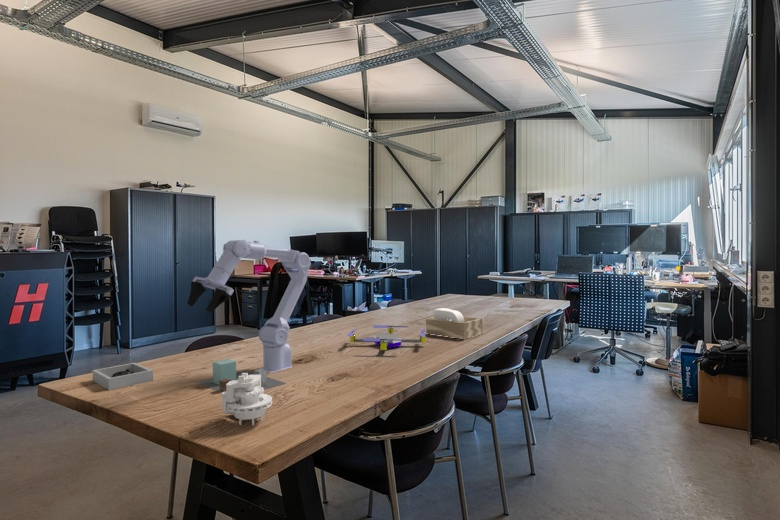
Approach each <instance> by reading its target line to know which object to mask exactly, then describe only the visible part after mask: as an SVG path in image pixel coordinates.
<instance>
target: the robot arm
mask: <svg viewBox="0 0 780 520" xmlns="http://www.w3.org/2000/svg"><path fill="white" fill-rule="evenodd" d="M264 257H268V258H275V259H278V261H279V262H280V263H281V265H282V266H283V268H284V269H285V271H286V273H287V274H288V276H289V277H290V281H289V283H288V286H286V287H287V288H286V289H285V291H284V294H283V296H282V297H281V299H280V302H279V304H278V306H277V308H276V310H275V312H274V314H273V316H272V317H270V318H269V319H268V320H266V322H265V323H264V325H263V326H262V327H261V328H260V329H259V332H258V339H259V340H260V341H261V343H262V350H263V351H262V356H263V357H262V358H263V362H262V363H263V367H260V368H258V369H265V370H267V372H268V373H274V372H278V371H279V372H280V371H282V370H283V371H284V370H286V369H290V368H293V366H292V350H291V346H290V344H289V343H286V342H287V341H288V338H289V331H290V329H291V328H290V325H289V323H288V321H289V320H290V317H291V316H292V313H293V311H294V309H295V306H296V304H298V303H297V302H298V300H299V298H300V296H301V294H302V291H303V290H304V288H305V285H306V283H307V281H308V275H309V270H310V267H311V265H312V262H311V259H310V256H309V254H307V253H306V252H304V251H303V252H301V251H299V250H294V249H289V248H278V247H265V245H264V244H263V243H262V242H260V241H259V240H253V241H247V240H246V239H237V240H236V239H235V240H233V239H231V240H229V241H227V242H226V243H224V244H223V248H222V253H221V255H220V257H219V258H218V260H217V261H216V263H215V264H214V266H213V268H212V269H211V271H210V273H209V274H208V276H206V277H199V276H195V277H194V278H193V279H192V281H191V283H190V294H189V297H188V300H187V305H188V306H190V307H194V306H195V304H196V302H197V301H198V300H199V298H200V297H201V296H202V295H203V294H204V293H205V292H206V291H207V289H206V288H209V289H212V290H214V293H213V296H212V298H211V300H210V302H209V303H208V306H207V307H206V309H205V310H206V311H207V313H209V314H212V313H214V311H215V310H216V309H217V308H218V307H219V306H220V305H222V304H223V303H225V302H226V301H229V300H230V297H229V296H232V295H233V293H234V291H235V289H233V287H230V286H228V285H226V283H227V281H228V280H229V278H230V277H231V275H232V273H233V272H234V270H235V269H236V267H237V265H238V263H239V262H240V260H241V259H248V260H249V259H250V260H251V259H252V260H262V259H263V258H264Z"/></svg>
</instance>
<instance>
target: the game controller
mask: <svg viewBox="0 0 780 520" xmlns="http://www.w3.org/2000/svg"><path fill="white" fill-rule="evenodd" d="M128 370H129V369H126V371H120V372H116V373H114V374H113V375H112V378H113V377H118V376H123V375H128V374H133V372H132V371H128Z"/></svg>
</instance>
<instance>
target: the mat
mask: <svg viewBox="0 0 780 520" xmlns="http://www.w3.org/2000/svg"><path fill="white" fill-rule="evenodd" d="M242 373H248V375H255V372H253V371H249V370H242V371H239V372H238V371H237V372H236V380H238V377H239V376H242ZM196 383H197V384H199V385H202V386H205V387H206V388H209V389H211V390H214V391H217V392H219V393H221V394H222V393H223V391H220V385H219V384H216V383H213V377H212V378H208V379H204V380H200V381H199V380H198V381H196ZM287 384H288V383H287V382H284V381H281V380H277V379H275V378H272V377H268V376H267V386H265V387H263V388H264V391H265V390H269V389H272V388H276V387H278V386H279V387H280V386H282V385H287Z"/></svg>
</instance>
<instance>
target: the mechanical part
mask: <svg viewBox="0 0 780 520" xmlns="http://www.w3.org/2000/svg"><path fill="white" fill-rule="evenodd" d="M272 405H273V397H272V396H271V395H269V394H266V393H265V390H264V388H263V387H261V375H248V373H242V376H239V377H238V380H234V381H230V382H228V383H227V384H226V391H225V392H223V393H221V408H222V409H221V410H222V412H223V413H224V414H225V415H232V416H234V418H235V419H238V424H239V426H241V425H242V422H243V420H251V426H255V419H256V418H257V419H258V418H259V419H260V420H259V421H263V416H264V415H265V414H266V409H268V408H270V407H271V406H272Z"/></svg>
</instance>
